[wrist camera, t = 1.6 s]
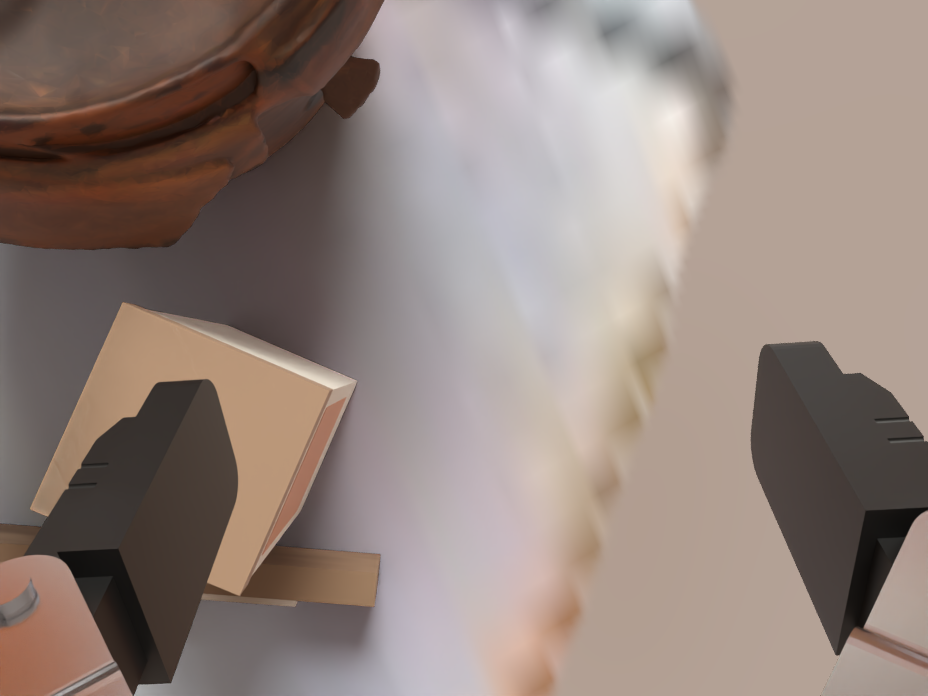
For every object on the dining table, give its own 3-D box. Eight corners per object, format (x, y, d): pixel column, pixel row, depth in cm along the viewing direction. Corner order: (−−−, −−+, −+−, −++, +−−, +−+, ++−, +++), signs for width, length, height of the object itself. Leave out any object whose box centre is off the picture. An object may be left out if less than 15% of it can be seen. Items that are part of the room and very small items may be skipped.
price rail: (-264, 542, 32) (-333, 561, 29) (-259, 502, 32) (-328, 517, 29) (376, 592, 34) (373, 615, 31) (380, 554, 34) (377, 572, 31)
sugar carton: (301, 512, 34) (239, 596, 22) (168, 456, 33) (29, 509, 21) (359, 380, 34) (329, 390, 22) (226, 323, 33) (122, 302, 21)
